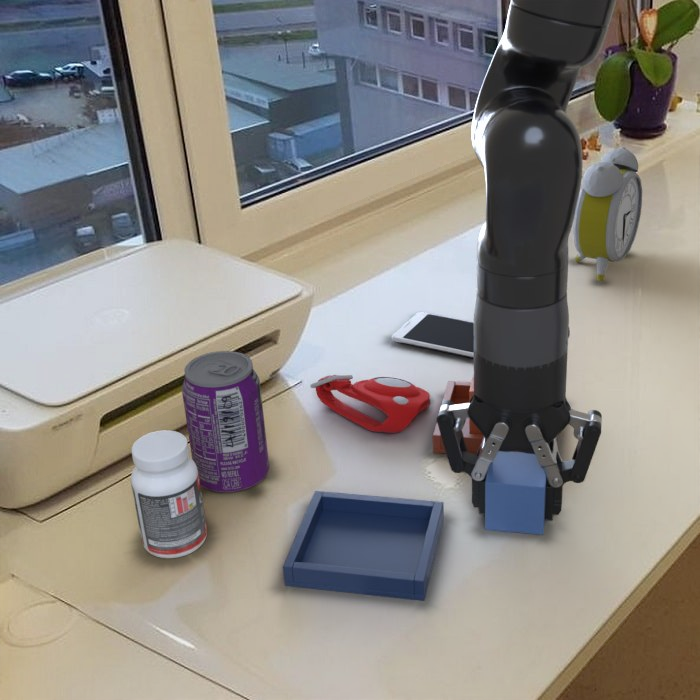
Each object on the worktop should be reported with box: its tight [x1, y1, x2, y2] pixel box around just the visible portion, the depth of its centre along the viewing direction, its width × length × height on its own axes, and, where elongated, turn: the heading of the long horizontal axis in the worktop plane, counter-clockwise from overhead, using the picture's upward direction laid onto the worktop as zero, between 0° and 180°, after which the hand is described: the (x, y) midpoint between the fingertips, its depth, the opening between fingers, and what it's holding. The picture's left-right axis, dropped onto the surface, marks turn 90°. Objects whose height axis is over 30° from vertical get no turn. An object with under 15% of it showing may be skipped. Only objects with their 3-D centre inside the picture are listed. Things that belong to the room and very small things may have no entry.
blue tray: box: [282, 490, 445, 602], centre depth 90 cm, size 12×11×2 cm
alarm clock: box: [573, 146, 643, 282], centre depth 136 cm, size 12×7×15 cm, turn 148°
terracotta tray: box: [432, 380, 558, 455], centre depth 106 cm, size 12×11×2 cm
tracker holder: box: [310, 374, 431, 434], centre depth 109 cm, size 12×4×10 cm
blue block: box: [484, 451, 547, 536], centre depth 93 cm, size 5×5×5 cm
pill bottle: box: [130, 429, 208, 559], centre depth 91 cm, size 6×6×10 cm
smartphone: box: [391, 311, 474, 359], centre depth 123 cm, size 8×1×15 cm
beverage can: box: [181, 350, 270, 493], centre depth 99 cm, size 7×7×12 cm
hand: (516, 511), depth 94 cm, fingers closed on blue block, 5 cm apart
